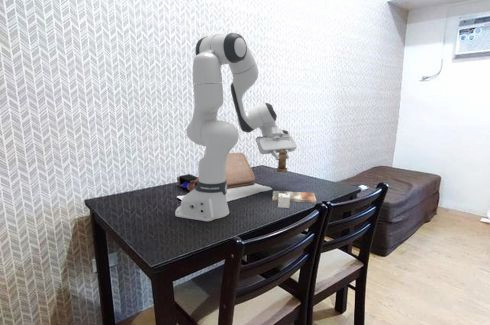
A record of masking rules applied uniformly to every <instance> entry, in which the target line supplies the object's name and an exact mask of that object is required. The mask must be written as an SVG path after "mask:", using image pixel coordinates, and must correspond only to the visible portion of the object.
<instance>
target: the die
mask: <svg viewBox="0 0 490 325" xmlns="http://www.w3.org/2000/svg"><path fill="white" fill-rule="evenodd" d="M277 202H278V203H277V208H284V209H290V202H291V201H290V194H282V193H279V196H278V201H277Z"/></svg>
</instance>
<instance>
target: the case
mask: <svg viewBox="0 0 490 325" xmlns="http://www.w3.org/2000/svg"><path fill="white" fill-rule="evenodd" d="M255 180H256V176H255V174H254V171H253V170H252V166H251V165H250V163H249V161H248V159H247V157H246V155H245V154H244V153H243V152H229V154H228V157H227V161H226V181H227V189H230V188H231V189H232V188H236V187H237V188H238V187H243V186H244V187H245V186H249V185H254V184H255Z"/></svg>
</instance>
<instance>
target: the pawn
mask: <svg viewBox="0 0 490 325" xmlns="http://www.w3.org/2000/svg"><path fill="white" fill-rule="evenodd" d="M278 155H279V156H280V158H281V159H280V160H277V162H278V164H277V167H276V168H275V169H276V172H278V173H287V172H288V168H287V166H286V165H287V159H286V152H285V151H284V150H281V151H280V152H279V153H278Z"/></svg>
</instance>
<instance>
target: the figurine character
mask: <svg viewBox="0 0 490 325" xmlns="http://www.w3.org/2000/svg"><path fill="white" fill-rule="evenodd" d="M197 178H199V176H196V175H193V174H190V173H188V174H183V175H179V176H178V177H176V181H177V183H178V184H179V186H180V187H181V188H187V190H189V192H190V191H192V190H193V189H194V187H193V184H194V182H195V180H196V179H197Z"/></svg>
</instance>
